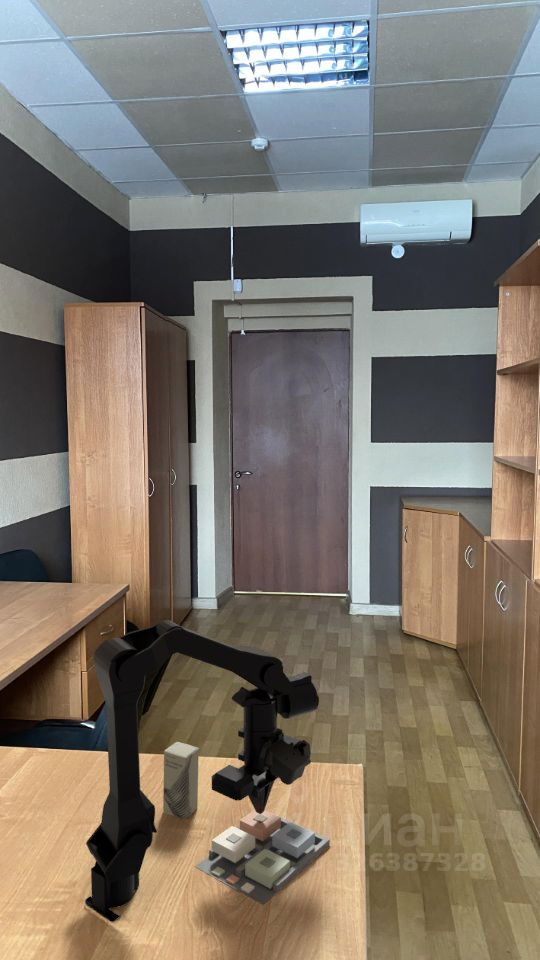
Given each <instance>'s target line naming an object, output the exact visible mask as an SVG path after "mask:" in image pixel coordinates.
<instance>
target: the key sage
mask: <svg viewBox="0 0 540 960" xmlns="http://www.w3.org/2000/svg"><path fill="white" fill-rule="evenodd" d="M289 869H290V861H289V860H287V859H285V858H283V857H281V856H279V855H277V854H275V853H273V852H271V851H269V850H267V849H264V850H263V851H261V852H260V853H259V854H258V855H256V856H255V857H254V858H253V859H251V860H250V861H249V862H248V863H246V864H245V876H247V877H249V878H251V879H253V880H255V881H257V882H259V883H260V884H262V885H264V886H266V887H268V888H270V889H271V888H272V887H273V883H275V882H276V881H277V880H278V879H279V878H280V877H281V876H282V875H284V874H285V873H286V872H287V871H288V870H289Z"/></svg>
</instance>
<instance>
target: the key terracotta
mask: <svg viewBox="0 0 540 960" xmlns="http://www.w3.org/2000/svg"><path fill="white" fill-rule="evenodd" d="M281 818H282V817H281V816H279V815H276V814H274V813H272V812H270V811H268V810H266V809H265V810H264V812H263V813H262V814H259V813H257V812H256V811H255V809H253V810H252V811H251V812H249V813H247V814H246V815H245V816H244V817H242V818H240V820H239V828H240V830H242V831H244V832H246V833H248V834H250V835H252V836H254V837H255V838H257V839H259V840H261V841H264V840H265V839H267V838H268V837H269V836H270V835H272V834H273V833H274V832H275V831H277V830H278V829H279V828H281Z"/></svg>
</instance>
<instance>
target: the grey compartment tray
mask: <svg viewBox="0 0 540 960" xmlns="http://www.w3.org/2000/svg"><path fill="white" fill-rule="evenodd" d="M289 822H291V821H290V820H288V819H285V818H284V817H281V828H279V829H278V830H277V831H275V832H274V833H273V834H272V835H270V836H269V837H268V838H267V839H265V840H264V841H261V840H259V839H257V838H255V848H254V849H253V850H251V851H250V852H249V853H247V854H246V855H245V856H244V857H242V858H241V859H240V860H239V861H237V862H236V863H234V862H232V861H231V860H229V859H227V858H225V857H223V856H221V855H219V854H217V853H215V852H213V851H212V847H211V848H210V849H208V856H207V857H205V858H204V859H203V860H201V861H200V862H199V863H197V864H196V865H195V866H194V868H195V869H198V870H199V871H201V872H203V873H205V874H207V875H208V876H210V877H212V878H214V879H216V880H218V881H220V882H221V883H223V884H225V885H227V886H229V887H230V888H232V889H234V890H236V891H237V892H239V893H241V894H243V895H245V896H246V897H248V898H250V899H251V900H253V901H255V902H257V903H259V904H261V905H262V906H264V905H265V904H266V903H268V901H270V899H272V898H273V897H274V896H275V895H276V894H277V893H278V892H280V891H281V890H282V889H283V888H284V887H285V886H286V885H287V884H288V883H289V882H290V881H291V880H293V878H295V877H296V876H297V875H298V874H300V872H302V871H303V870H304V869H305V868H306V867H307V866H308V865H309V864H310V863H311V862H313V861H314V860H315V859H316V858H317V857H318V856H319V855H320V854H322V853H323V852H324V851H326V849H327V848H328V847H330V844H331V843H330V841H331V840H330V838H328V837H326V836H324V835H322V834H319V833H317V832H315V843H314V844H313V845H312V846H311V847H309V848H308V849H307V850H306V851H305V852H304V853H303V854H301V855H300V856H299V857H298V858H296V857H294V856H292V855H290V854H288V853H286V852H284V851H281V850H279V849H277V848H275V847H273V846H272V836H273V835H274V834H275V833H277V832H278V831H279V830H280V829H282V828H283V827H284V826H285V825H287V824H288V823H289ZM238 829H240V827H239V828H238ZM264 849H267V850H269V851H271V852H273V853H275V854H277V855H279V856H281V857H283V858H285V859H287V860H289V861H290V869H289V870H288V871H287V872H286V873H285V874H284V875H282V876H281V877H280V878H279V879H278V880H277V881H276V882H275V883H273V887H272V888H271V889H270V888H268V887H266V886H264V885H262V884H260V883H259V882H257V881H255V880H253V879H251V878H249V877H247V876H245V864H246V863H248V862H249V861H250V860H251V859H253V858H254V857H255V856H256V855H258V854H259V853H260V852H261V851H263V850H264Z"/></svg>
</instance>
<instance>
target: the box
mask: <svg viewBox="0 0 540 960" xmlns="http://www.w3.org/2000/svg"><path fill="white" fill-rule="evenodd" d="M199 750H200V748H199V747H196V746H194V745H190V744H188V743H183V742H179V741H175V742H174V743H173V744H171V745H169V747H168V748H166V749H165V750H164V751H163V797H162V798H163V800H162V806H163V807H162V812H163V813H164V814H167V815H169V816H173V817H176V818H179V819H182V820H186V819H188V818H189V817H190V816H191V815H192V814H193V813H194V812H195V811H197V809H198V796H199V794H198V793H199V792H198V791H199V790H198V789H199V788H198V787H199Z"/></svg>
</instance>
